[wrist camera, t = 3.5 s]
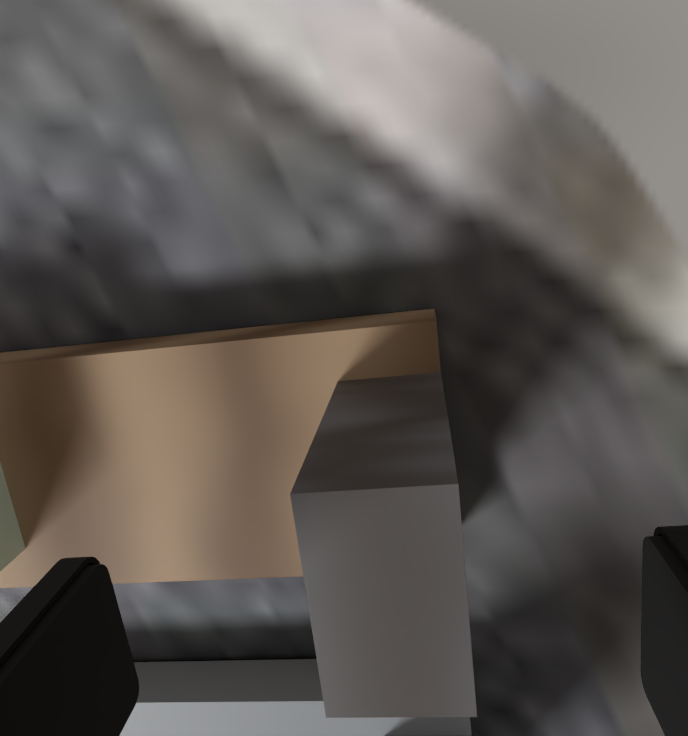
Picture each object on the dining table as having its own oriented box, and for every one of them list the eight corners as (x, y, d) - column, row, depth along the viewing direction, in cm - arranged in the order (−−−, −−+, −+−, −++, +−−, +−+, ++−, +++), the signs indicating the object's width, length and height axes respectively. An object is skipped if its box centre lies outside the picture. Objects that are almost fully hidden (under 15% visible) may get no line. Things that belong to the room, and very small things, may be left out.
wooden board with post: (434, 308, 18) (451, 402, 10) (453, 535, 21) (482, 777, 12) (-220, 375, 22) (-631, 487, 13) (-148, 564, 24) (-463, 768, 15)
